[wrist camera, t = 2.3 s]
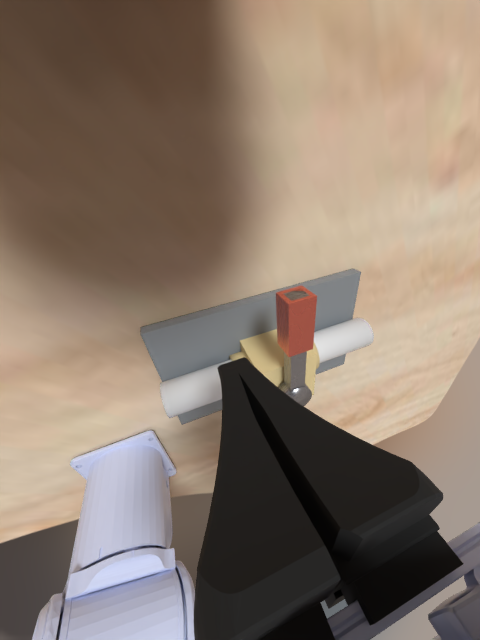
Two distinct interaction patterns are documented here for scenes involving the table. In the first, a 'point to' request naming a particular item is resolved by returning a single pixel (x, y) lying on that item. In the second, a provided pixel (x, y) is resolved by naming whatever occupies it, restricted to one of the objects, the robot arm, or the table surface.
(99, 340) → the table surface
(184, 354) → the board
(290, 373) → the lever
